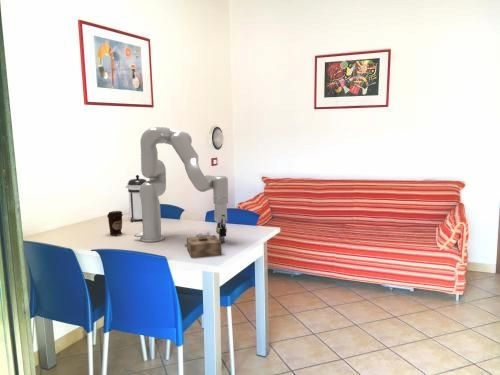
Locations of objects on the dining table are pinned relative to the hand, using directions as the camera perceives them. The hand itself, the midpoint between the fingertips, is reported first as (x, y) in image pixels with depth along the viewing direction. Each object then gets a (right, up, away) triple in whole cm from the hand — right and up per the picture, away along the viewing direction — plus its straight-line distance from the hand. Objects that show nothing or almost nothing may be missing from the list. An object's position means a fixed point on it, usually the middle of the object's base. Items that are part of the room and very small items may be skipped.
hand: (221, 234), depth 210 cm
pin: (0, -4, 0) cm, 4 cm away
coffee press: (-57, +3, +60) cm, 83 cm away
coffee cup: (-61, -3, +20) cm, 64 cm away
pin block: (-7, -6, -17) cm, 20 cm away
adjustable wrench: (-14, -4, +5) cm, 16 cm away
